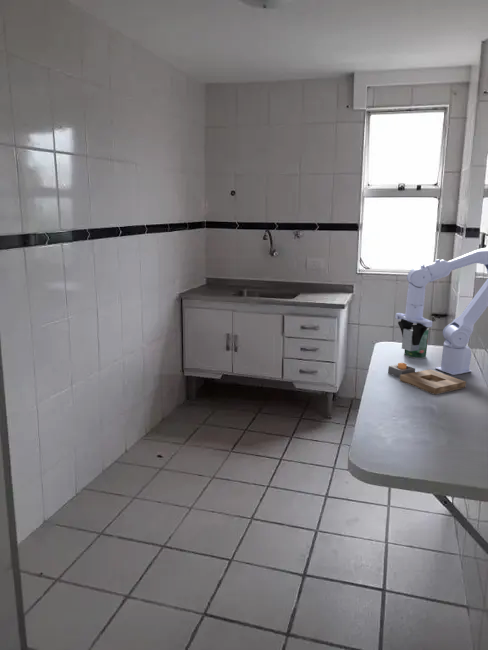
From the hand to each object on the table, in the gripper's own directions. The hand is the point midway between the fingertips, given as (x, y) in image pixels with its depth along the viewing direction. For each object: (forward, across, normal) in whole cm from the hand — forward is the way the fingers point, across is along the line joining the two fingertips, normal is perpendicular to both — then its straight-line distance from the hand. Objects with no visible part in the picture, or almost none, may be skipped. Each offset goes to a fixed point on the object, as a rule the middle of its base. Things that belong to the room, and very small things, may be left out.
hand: (410, 343), depth 189 cm
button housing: (+9, +4, -8) cm, 12 cm away
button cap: (+8, +4, -7) cm, 11 cm away
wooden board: (+9, +16, -6) cm, 19 cm away
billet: (+2, 0, 0) cm, 2 cm away
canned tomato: (+9, -11, +15) cm, 21 cm away
